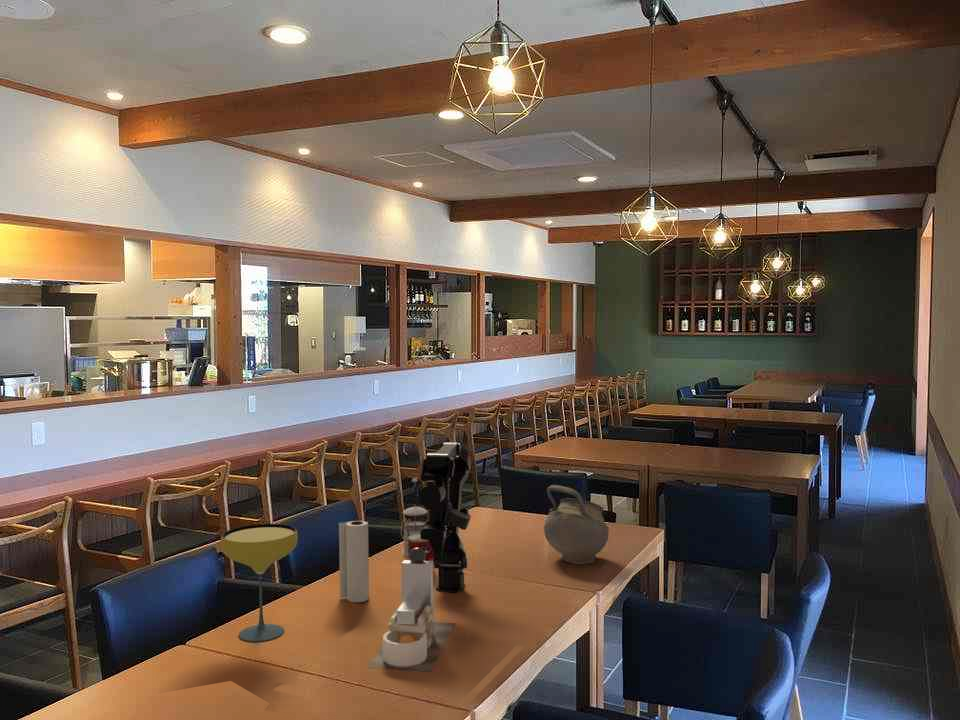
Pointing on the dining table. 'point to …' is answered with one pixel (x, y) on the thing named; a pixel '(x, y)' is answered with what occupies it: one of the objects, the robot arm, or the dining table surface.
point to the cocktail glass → (259, 563)
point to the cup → (404, 649)
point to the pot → (575, 527)
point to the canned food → (424, 544)
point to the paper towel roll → (354, 561)
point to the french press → (412, 523)
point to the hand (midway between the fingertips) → (439, 558)
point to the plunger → (416, 587)
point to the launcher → (421, 626)
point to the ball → (406, 639)
